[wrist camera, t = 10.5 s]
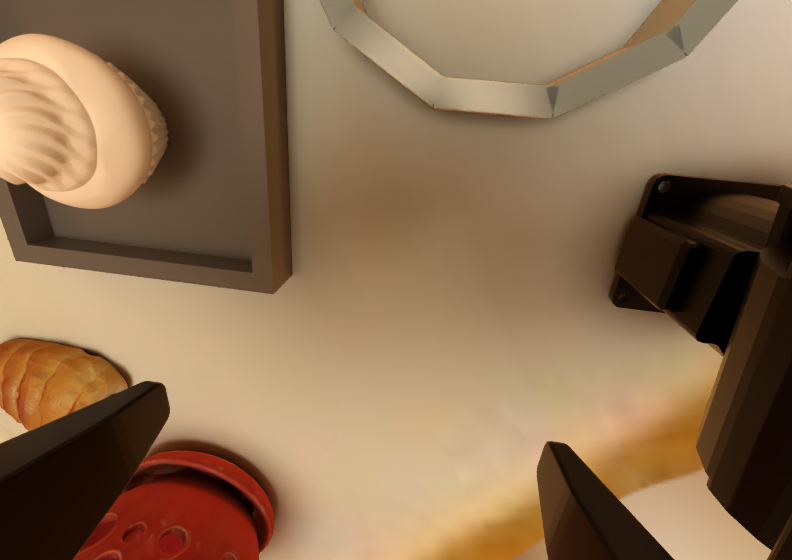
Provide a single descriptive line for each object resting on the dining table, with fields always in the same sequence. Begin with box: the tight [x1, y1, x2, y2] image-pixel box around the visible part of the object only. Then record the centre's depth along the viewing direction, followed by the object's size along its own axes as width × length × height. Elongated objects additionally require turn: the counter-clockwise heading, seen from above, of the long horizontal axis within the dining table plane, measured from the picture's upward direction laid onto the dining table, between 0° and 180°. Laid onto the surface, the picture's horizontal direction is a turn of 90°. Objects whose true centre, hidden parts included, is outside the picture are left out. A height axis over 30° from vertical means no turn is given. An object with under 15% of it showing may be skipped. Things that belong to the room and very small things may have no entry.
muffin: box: [0, 34, 169, 209], centre depth 14 cm, size 6×6×7 cm
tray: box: [0, 0, 292, 294], centre depth 17 cm, size 14×14×2 cm
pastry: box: [0, 339, 128, 431], centre depth 25 cm, size 9×7×4 cm
